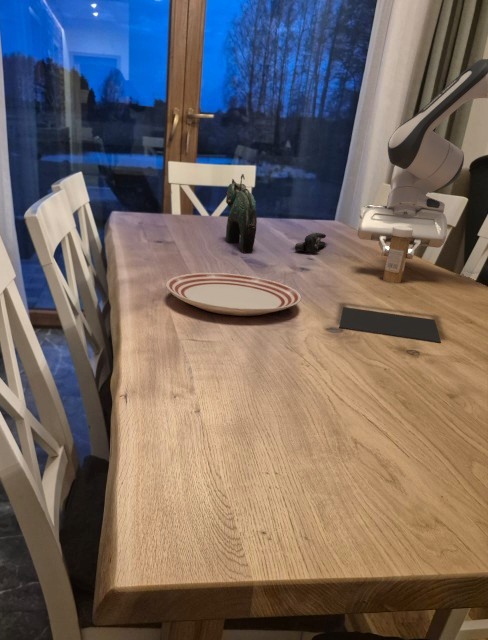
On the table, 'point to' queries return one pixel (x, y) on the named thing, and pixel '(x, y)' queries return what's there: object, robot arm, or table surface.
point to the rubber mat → (389, 324)
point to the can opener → (311, 243)
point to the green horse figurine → (241, 216)
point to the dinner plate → (232, 293)
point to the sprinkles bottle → (397, 254)
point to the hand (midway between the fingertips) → (397, 256)
